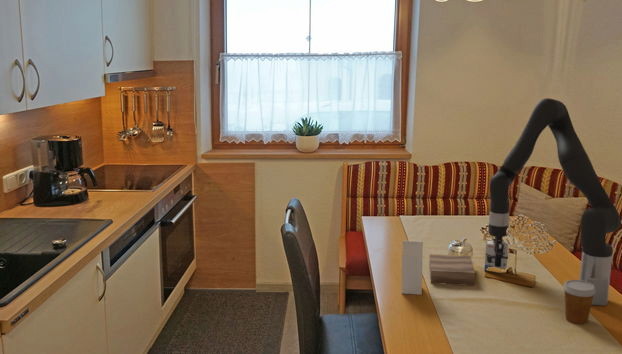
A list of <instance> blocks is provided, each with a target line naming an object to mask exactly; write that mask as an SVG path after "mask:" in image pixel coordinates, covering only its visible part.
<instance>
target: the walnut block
mask: <svg viewBox="0 0 622 354" xmlns="http://www.w3.org/2000/svg"><path fill="white" fill-rule="evenodd" d="M429 278H430V279H429V280H431V281H430V284H438V283H446V284H445V285H458V284H467V285H466V286H475V284H476V283H475V281H476V280H475V278H476V272H475V268H474V264H473V261H472V257H471V256H470V255H454V254H452V255H449V254H429Z"/></svg>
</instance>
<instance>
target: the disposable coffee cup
mask: <svg viewBox="0 0 622 354" xmlns="http://www.w3.org/2000/svg"><path fill="white" fill-rule="evenodd" d="M562 288H563V290H564V303H565V304H564V305H565V307H564V308H565V319H566V320H567V321H568V322H570V323H572V324H578V325H584V324H587V323H588V320H589V316H590V313H591V307H592V305H591V304H592V300H593V296H594V294H595V293H596V290H595V287H594V285H593V284H591V283H589V282H586V281H582V280H580V279H569V280H566V281H565V282H564V284H563V286H562Z"/></svg>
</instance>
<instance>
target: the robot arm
mask: <svg viewBox="0 0 622 354" xmlns="http://www.w3.org/2000/svg"><path fill="white" fill-rule="evenodd" d="M571 119H572V118H571V117H570V113H569V111H568V108H567V107H566V104H564V102H562V101H560V100H557V99H553V98H542V99H541V100H540V101H538V102H537V103H536V104H535V106H534V108H533V110H532V113H530V116H529V118H528V121H527V122H526V124H525V126H524V128H523V130H522V132H521V134H520V136H519V137H518V140H517V141H516V143H515V144H514V146H513V147H512V148H511V150H510V151H509V153H508V155H506V157H505V159H504V160H503V163H502V165H501V166H500V168H499V169H498V170H497V172H496V173H495V174H494V175H493V176H492V177H491V179H490V180H489V195H490V202H489V203H490V204H489V214H488V231H487V232H488V234H489V235H490V236H491V240H492V242H493V244H494V252H495V266H496V267H501V258H503V248H504V242H505V241H504V237H508V235H507V234H506V230H507V228H508V226H510V199H509V188H510V186H511V185H512V183H513V182H514V180H515V179H516V177H517V176H518V174H519V172H520V171H522V169H523V168H524V167H525V165H527V162H528V161H529V159H530V157H531V156H532V154H533V152H534V149H535V146H536V143H537V142H538V139H539V137H540V135H541V133H543V131H544V130H545V129H546V128H547V127H548V128H549V129H550V131H551V133H552V135H553V137H554V139H555V142H556V146H557V147H556V148H557V150H556V151H557V157H558V162H559V164H560V167H561V169H562V171H563V173H564V175H565V176H566V178H567V180H568V181H569V182H570V183H571V184H572V186H574V188H577V190H578V191H580V193H581V194H583V195H584V197H585V198H586V199H587V201H588V203H589V205H590V208H588V209H587V210H585V211H584V212H583V213H582V215H581V218H580V219H581V220H580V244H581V249H582V250H581V261H580V273H579V280H582V281H586V282H589V283H591V284H593V285H594V287H595V290H596V293H595V294H594V296H593V300H592V304H591V306H604V307H605V306H606V307H607V304H608V302H609V294H610V293H609V292H610V281H611V272H612V260H613V252H614V249H613V246H612V245H611V244H609V243H607V240H606V239H607V238H606V236H607V234H609V233H614V232H616V231H618V230H619V228H620V226H621V223H622V222H621V221H622V220H621V216H620V213H619V212H618V209H617V208H616V206H615V204H614V203H613V201H612V200H611V198H610V196H609V194H607V192H606V190H605V188H604V186H603V185H602V183H601V179H599V176H598V175H597V172H596V171H595V168H594V165H593V164H592V163H593V162H592V161H591V159H590V157H589V155H588V153H587V151H586V150H585V148H584V146H583V143H582V142H581V139H580V138H579V136H578V135H577V133H576V131H575V128H574V125H573V122H572V120H571ZM492 236H495V239H493V238H492ZM495 245H496V249H495ZM498 253H500V255H498Z"/></svg>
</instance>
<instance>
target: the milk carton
mask: <svg viewBox="0 0 622 354" xmlns="http://www.w3.org/2000/svg"><path fill="white" fill-rule="evenodd" d="M423 245H424V241H419V240H418V241H416V240H415V241H414V240H402V251H401V252H402V253H401V294H402V295H403V294H405V295H418V296H419V295H420V296H421V295H422V291H423V290H422V289H423V288H422V287H423V256H424V255H423V253H424V252H423V251H424V250H423V249H424V246H423Z"/></svg>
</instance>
